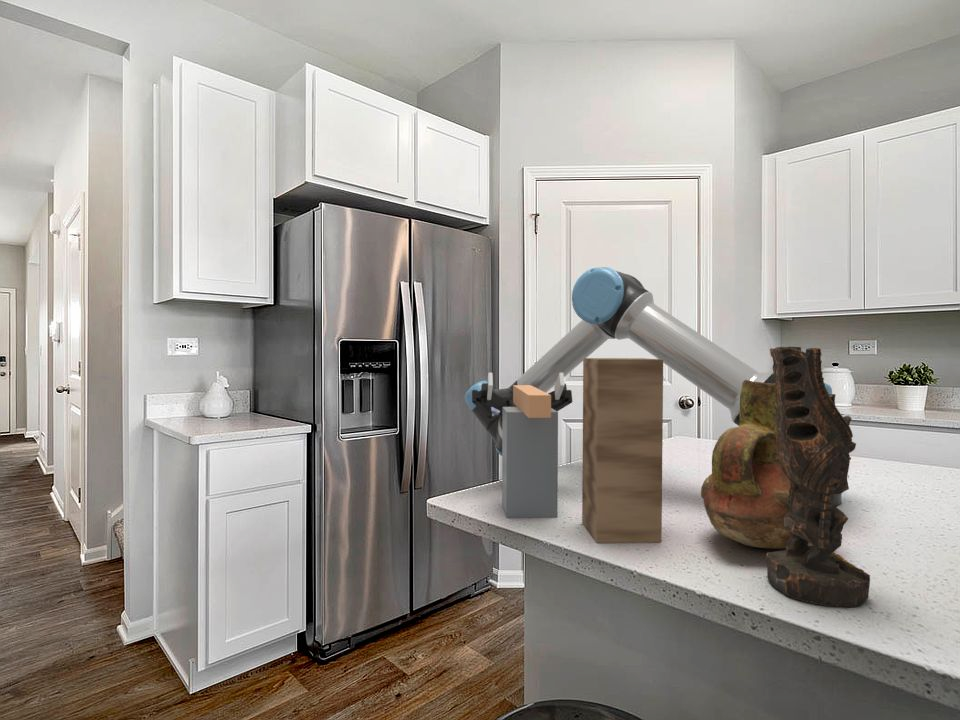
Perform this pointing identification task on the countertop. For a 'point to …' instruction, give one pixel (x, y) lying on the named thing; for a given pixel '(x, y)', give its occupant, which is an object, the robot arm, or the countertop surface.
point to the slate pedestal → (529, 464)
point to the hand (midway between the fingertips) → (526, 378)
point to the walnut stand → (622, 449)
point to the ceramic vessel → (749, 475)
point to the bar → (532, 401)
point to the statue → (812, 485)
